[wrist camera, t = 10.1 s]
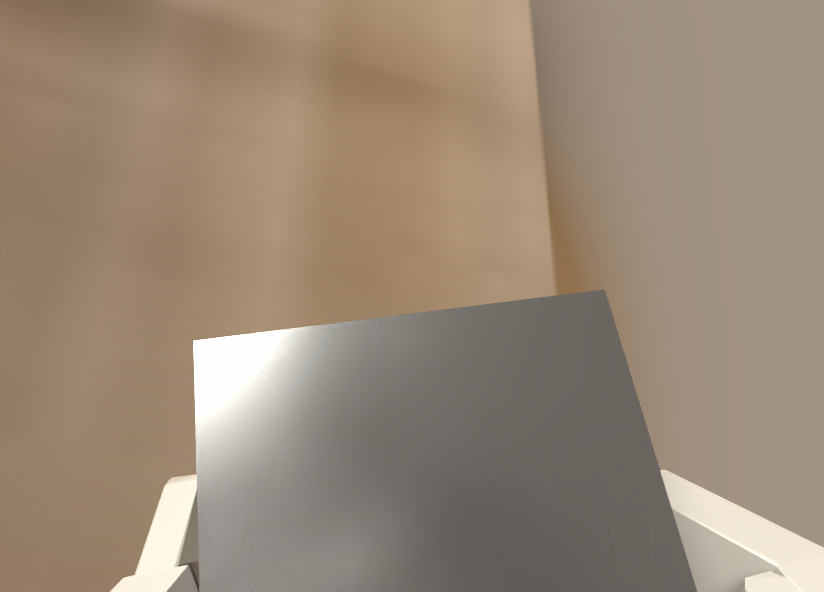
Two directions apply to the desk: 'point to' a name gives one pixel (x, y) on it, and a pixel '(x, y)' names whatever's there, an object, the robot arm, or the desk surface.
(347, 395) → the block
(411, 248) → the desk surface
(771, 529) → the robot arm
